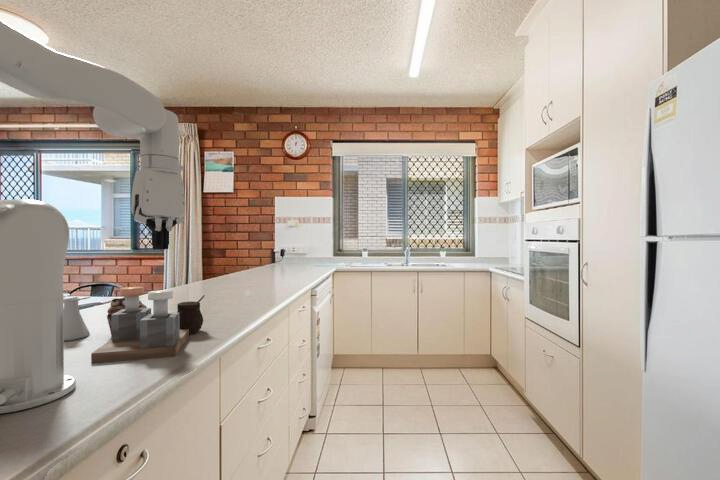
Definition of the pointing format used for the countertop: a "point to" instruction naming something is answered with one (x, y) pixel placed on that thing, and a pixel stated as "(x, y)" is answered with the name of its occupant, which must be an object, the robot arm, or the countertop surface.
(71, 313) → the flask
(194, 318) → the mate gourd
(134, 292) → the orange rounded piece
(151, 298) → the white round part
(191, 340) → the countertop surface
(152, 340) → the board
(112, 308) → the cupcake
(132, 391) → the countertop surface
